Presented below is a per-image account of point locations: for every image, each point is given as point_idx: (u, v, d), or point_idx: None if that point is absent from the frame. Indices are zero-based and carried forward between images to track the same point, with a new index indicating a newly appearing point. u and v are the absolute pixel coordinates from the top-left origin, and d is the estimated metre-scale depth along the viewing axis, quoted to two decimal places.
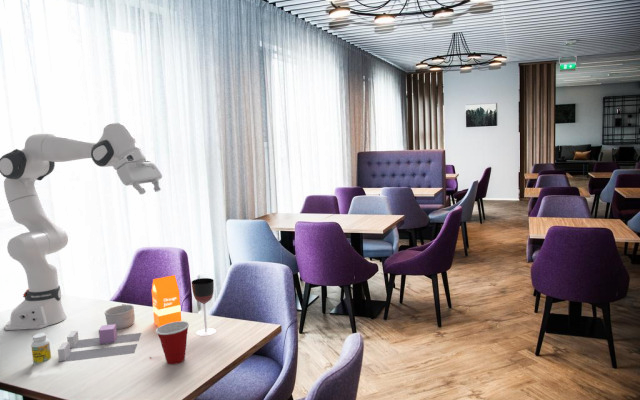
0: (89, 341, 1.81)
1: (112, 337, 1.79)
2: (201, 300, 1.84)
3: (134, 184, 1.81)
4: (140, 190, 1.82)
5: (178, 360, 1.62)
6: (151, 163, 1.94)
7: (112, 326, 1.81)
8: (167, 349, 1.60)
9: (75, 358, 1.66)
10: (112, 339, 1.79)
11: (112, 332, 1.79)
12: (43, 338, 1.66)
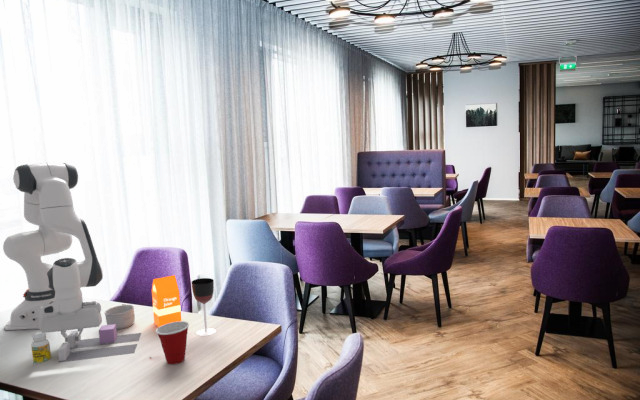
0: (89, 341, 1.81)
1: (112, 337, 1.79)
2: (201, 300, 1.84)
3: None
4: None
5: (178, 360, 1.62)
6: (90, 310, 1.77)
7: (112, 326, 1.81)
8: (167, 349, 1.60)
9: (75, 358, 1.66)
10: (112, 339, 1.79)
11: (112, 332, 1.79)
12: (43, 338, 1.66)
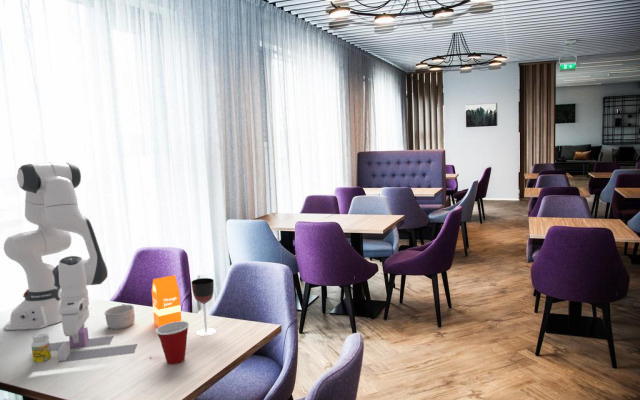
0: (60, 344, 1.79)
1: (83, 340, 1.77)
2: (201, 300, 1.84)
3: None
4: (76, 339, 1.75)
5: (178, 360, 1.62)
6: None
7: (83, 329, 1.79)
8: (167, 349, 1.60)
9: (75, 358, 1.66)
10: (83, 342, 1.77)
11: (83, 335, 1.77)
12: (43, 338, 1.66)
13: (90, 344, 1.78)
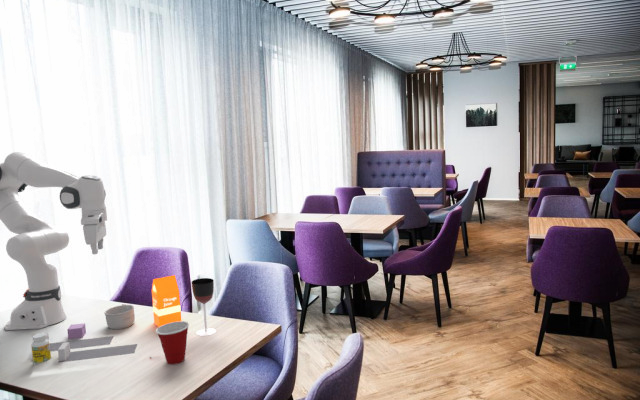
0: (60, 344, 1.79)
1: (80, 336, 1.85)
2: (201, 300, 1.84)
3: (92, 244, 1.88)
4: (94, 250, 1.90)
5: (178, 360, 1.62)
6: (103, 220, 2.01)
7: (81, 325, 1.87)
8: (167, 349, 1.60)
9: (75, 358, 1.66)
10: None
11: (80, 331, 1.85)
12: (43, 338, 1.66)
13: (90, 344, 1.78)
